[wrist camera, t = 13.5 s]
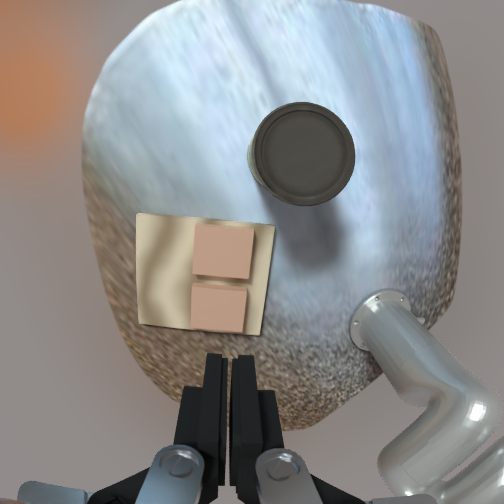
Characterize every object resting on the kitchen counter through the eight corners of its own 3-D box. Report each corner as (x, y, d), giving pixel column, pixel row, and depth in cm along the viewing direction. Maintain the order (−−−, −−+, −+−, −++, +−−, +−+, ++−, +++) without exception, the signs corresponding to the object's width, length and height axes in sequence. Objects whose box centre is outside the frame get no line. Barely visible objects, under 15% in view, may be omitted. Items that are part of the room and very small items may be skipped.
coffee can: (283, 107, 38) (306, 81, 24) (331, 159, 40) (374, 160, 27) (230, 155, 39) (228, 150, 26) (280, 206, 42) (302, 227, 29)
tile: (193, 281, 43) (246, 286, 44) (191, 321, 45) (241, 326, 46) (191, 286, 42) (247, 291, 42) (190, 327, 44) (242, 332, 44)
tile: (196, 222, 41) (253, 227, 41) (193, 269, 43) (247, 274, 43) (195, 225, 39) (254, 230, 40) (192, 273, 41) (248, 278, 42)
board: (273, 224, 43) (275, 226, 42) (258, 331, 48) (259, 335, 47) (139, 213, 41) (136, 214, 40) (140, 319, 46) (138, 323, 45)
